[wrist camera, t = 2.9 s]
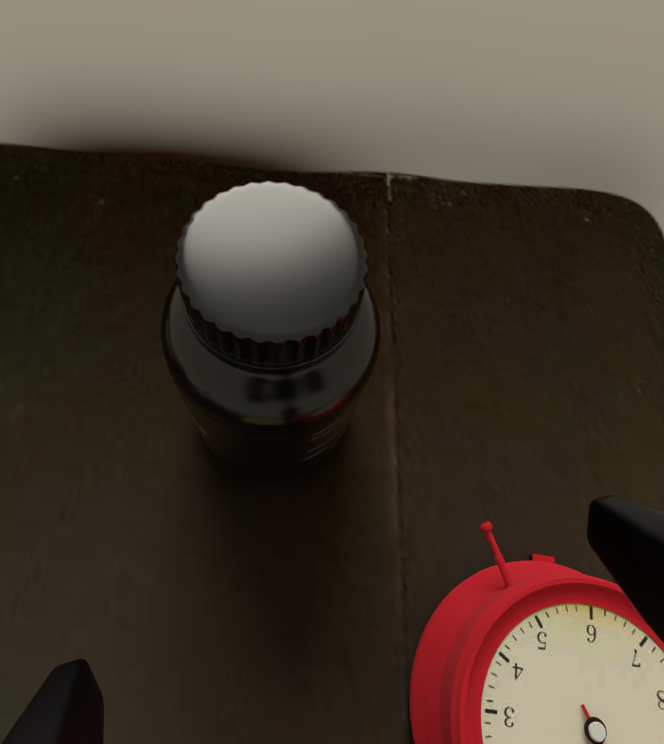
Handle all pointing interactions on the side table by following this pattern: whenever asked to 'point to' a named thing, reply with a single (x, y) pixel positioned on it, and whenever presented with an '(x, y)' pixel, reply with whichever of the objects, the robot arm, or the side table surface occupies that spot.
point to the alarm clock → (537, 661)
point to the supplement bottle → (270, 326)
